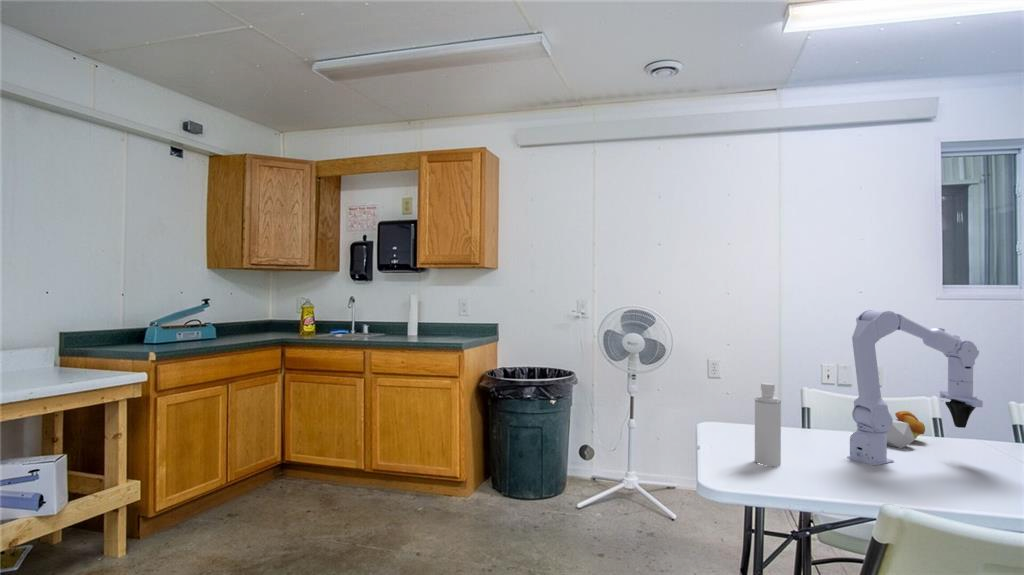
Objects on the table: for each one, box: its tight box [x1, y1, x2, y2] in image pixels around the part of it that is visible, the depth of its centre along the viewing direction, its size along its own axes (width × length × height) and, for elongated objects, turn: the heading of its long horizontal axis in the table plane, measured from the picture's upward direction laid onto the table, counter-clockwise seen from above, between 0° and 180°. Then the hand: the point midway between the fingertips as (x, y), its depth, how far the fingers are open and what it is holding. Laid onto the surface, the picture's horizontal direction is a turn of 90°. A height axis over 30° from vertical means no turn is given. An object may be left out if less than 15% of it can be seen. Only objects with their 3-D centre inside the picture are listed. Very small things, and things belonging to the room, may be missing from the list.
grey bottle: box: [754, 382, 782, 467], centre depth 153 cm, size 7×7×25 cm
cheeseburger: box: [892, 410, 926, 440], centre depth 182 cm, size 10×11×10 cm
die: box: [887, 419, 916, 449], centre depth 174 cm, size 8×9×10 cm
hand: (960, 427), depth 158 cm, fingers closed
